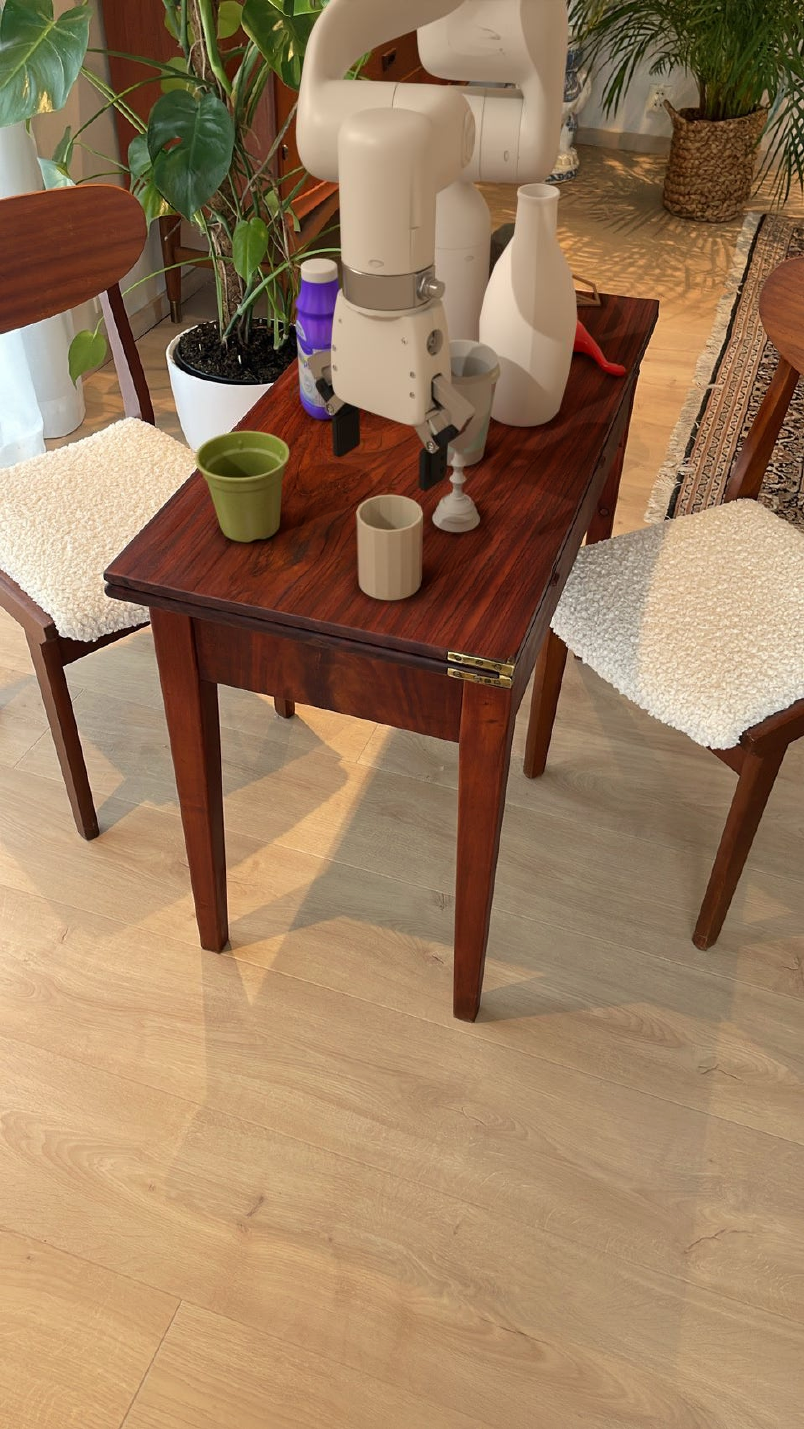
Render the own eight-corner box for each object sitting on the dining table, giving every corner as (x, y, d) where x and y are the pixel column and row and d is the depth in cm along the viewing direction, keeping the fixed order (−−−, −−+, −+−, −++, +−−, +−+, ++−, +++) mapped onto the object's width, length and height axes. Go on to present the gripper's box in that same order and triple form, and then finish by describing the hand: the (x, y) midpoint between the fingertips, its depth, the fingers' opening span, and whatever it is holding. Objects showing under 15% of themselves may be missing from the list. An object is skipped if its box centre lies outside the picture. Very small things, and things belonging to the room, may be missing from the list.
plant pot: (187, 540, 119) (176, 466, 114) (233, 494, 126) (225, 422, 120) (267, 562, 117) (260, 487, 111) (310, 514, 123) (305, 441, 117)
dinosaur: (508, 296, 151) (512, 342, 142) (619, 313, 152) (631, 360, 144) (501, 324, 154) (506, 371, 145) (611, 341, 155) (622, 388, 146)
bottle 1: (294, 399, 141) (284, 256, 129) (338, 391, 143) (333, 249, 131) (312, 427, 136) (304, 281, 124) (357, 418, 138) (354, 274, 126)
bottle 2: (584, 404, 140) (610, 186, 123) (536, 442, 134) (556, 218, 116) (507, 378, 145) (522, 165, 128) (457, 414, 139) (465, 194, 121)
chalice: (482, 541, 119) (492, 380, 107) (418, 534, 120) (420, 373, 108) (492, 503, 125) (503, 345, 112) (430, 496, 126) (434, 338, 113)
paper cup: (383, 555, 118) (383, 487, 112) (433, 577, 115) (435, 509, 109) (345, 585, 114) (343, 516, 108) (396, 608, 111) (396, 539, 106)
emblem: (511, 290, 164) (511, 285, 164) (557, 270, 170) (557, 266, 169) (577, 317, 158) (577, 312, 158) (622, 295, 163) (623, 290, 163)
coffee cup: (443, 427, 136) (446, 330, 128) (508, 447, 133) (515, 349, 125) (406, 460, 131) (406, 361, 123) (472, 481, 128) (478, 381, 120)
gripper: (503, 292, 92) (490, 480, 104) (334, 243, 100) (340, 423, 111) (449, 324, 88) (442, 517, 99) (276, 270, 95) (289, 455, 107)
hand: (388, 467), depth 105 cm, fingers open, 9 cm apart
